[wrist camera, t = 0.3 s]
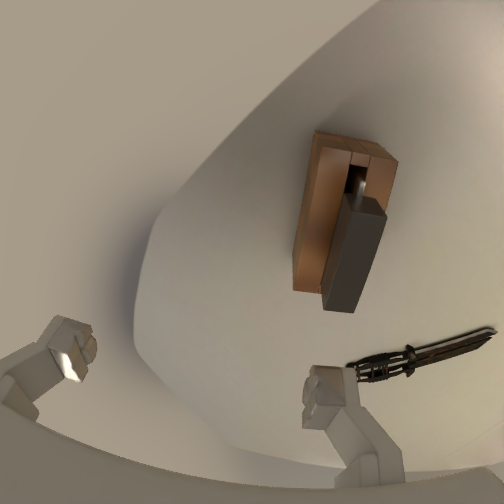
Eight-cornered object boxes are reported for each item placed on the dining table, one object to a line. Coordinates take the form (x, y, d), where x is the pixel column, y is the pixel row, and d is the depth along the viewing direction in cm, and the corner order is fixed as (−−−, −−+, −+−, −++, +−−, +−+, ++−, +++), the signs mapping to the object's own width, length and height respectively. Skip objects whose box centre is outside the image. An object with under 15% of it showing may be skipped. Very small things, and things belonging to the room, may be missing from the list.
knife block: (314, 130, 26) (321, 145, 21) (378, 143, 26) (399, 161, 21) (292, 254, 33) (292, 290, 28) (347, 261, 33) (356, 298, 28)
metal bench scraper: (332, 152, 26) (355, 195, 18) (358, 157, 26) (392, 202, 17) (312, 249, 31) (319, 320, 23) (335, 252, 31) (350, 323, 23)
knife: (498, 321, 36) (502, 328, 35) (487, 349, 39) (490, 355, 38) (345, 355, 41) (346, 363, 40) (346, 380, 44) (346, 388, 43)
